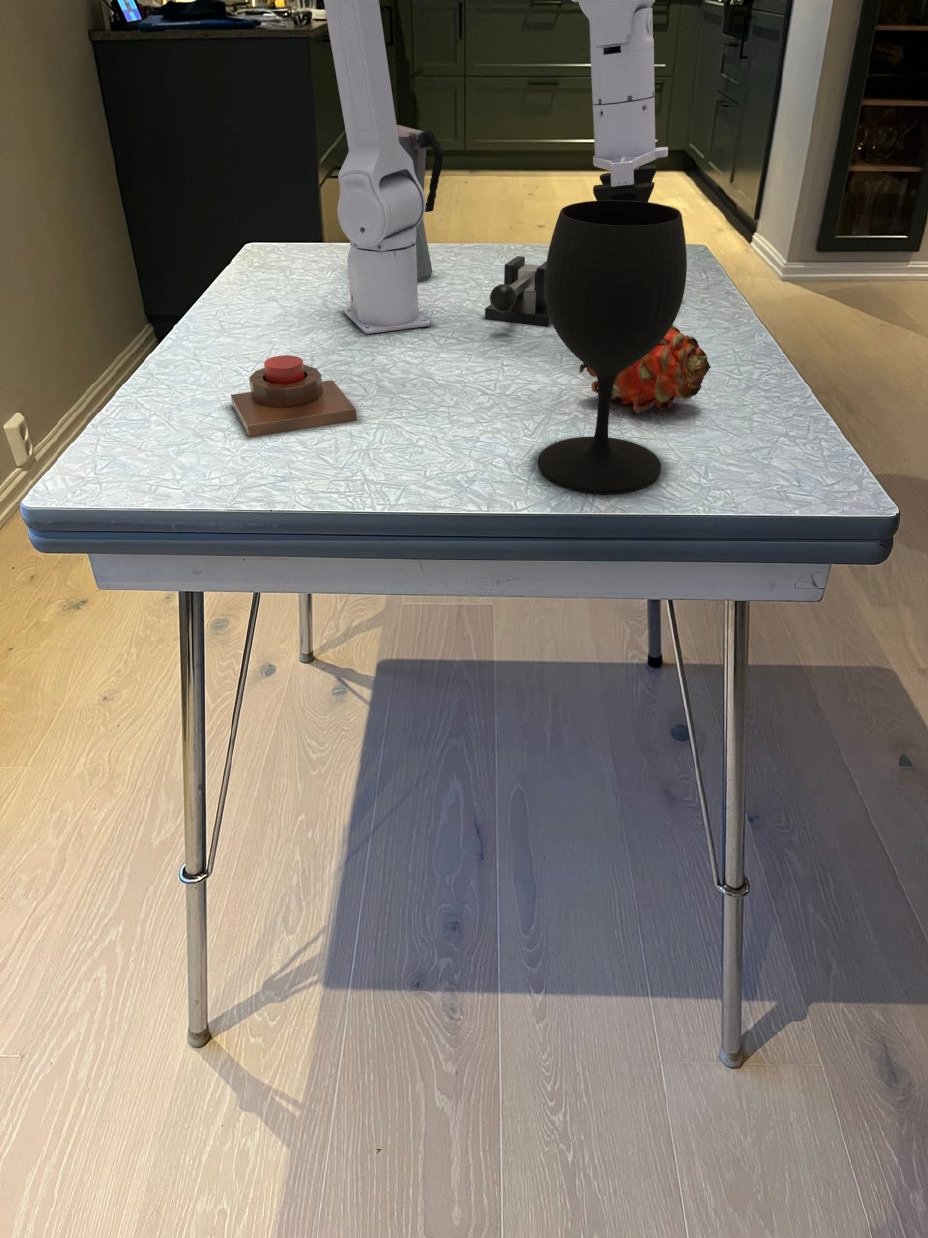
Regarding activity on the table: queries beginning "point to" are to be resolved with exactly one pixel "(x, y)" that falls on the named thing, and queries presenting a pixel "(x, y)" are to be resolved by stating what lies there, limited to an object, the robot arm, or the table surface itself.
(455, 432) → the table surface
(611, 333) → the wine glass
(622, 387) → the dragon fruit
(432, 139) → the moka pot
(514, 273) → the bracket
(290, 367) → the button
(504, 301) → the lever
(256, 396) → the button block
